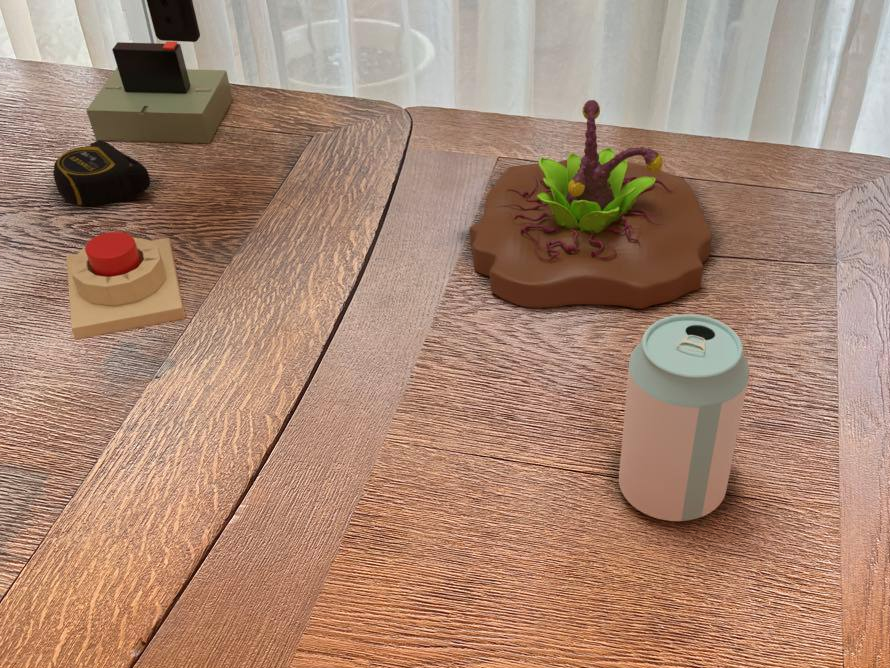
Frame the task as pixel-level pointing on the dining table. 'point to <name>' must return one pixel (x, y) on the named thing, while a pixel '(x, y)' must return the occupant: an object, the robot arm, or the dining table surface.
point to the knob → (151, 67)
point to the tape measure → (99, 175)
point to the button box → (124, 292)
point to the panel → (162, 110)
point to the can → (682, 417)
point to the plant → (591, 230)
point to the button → (112, 254)
